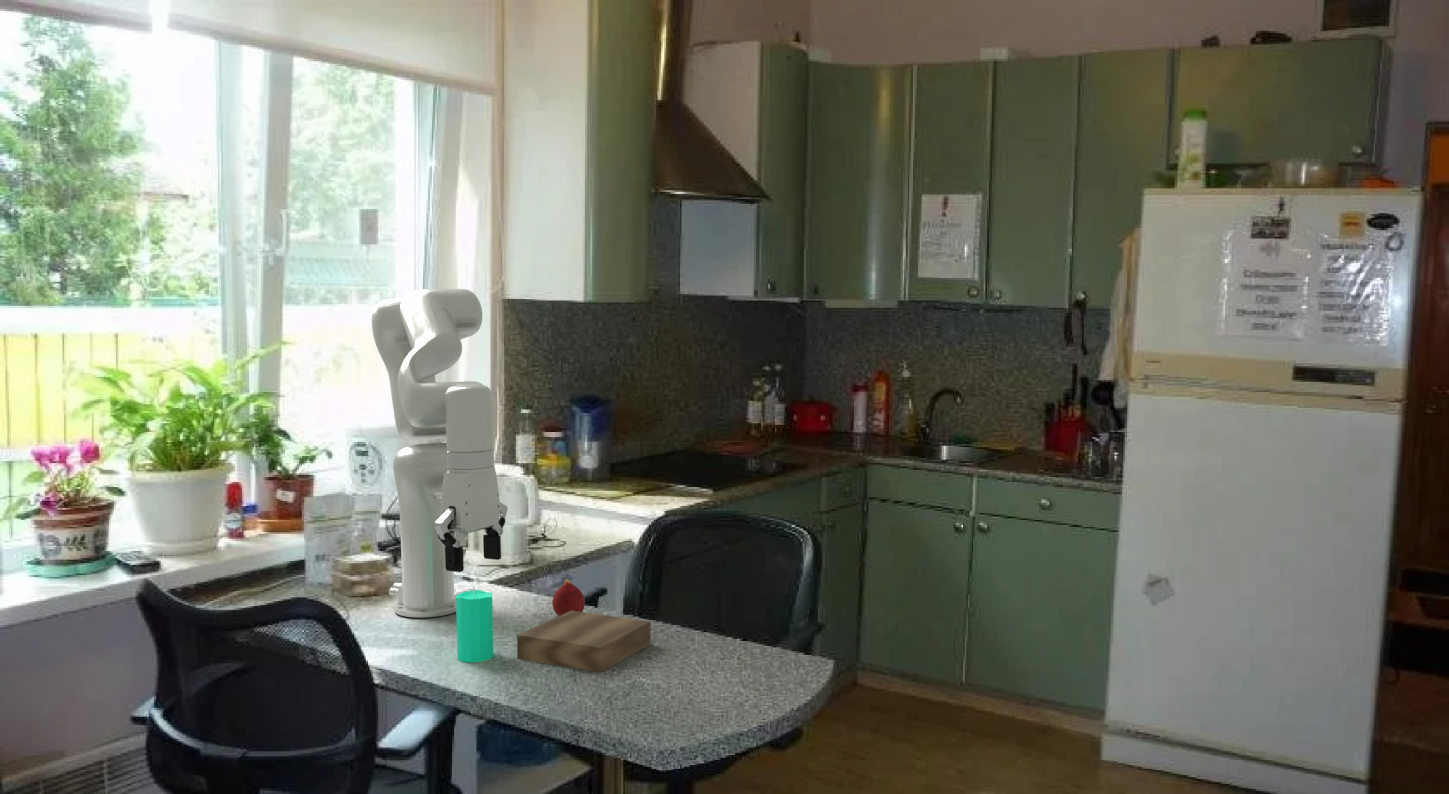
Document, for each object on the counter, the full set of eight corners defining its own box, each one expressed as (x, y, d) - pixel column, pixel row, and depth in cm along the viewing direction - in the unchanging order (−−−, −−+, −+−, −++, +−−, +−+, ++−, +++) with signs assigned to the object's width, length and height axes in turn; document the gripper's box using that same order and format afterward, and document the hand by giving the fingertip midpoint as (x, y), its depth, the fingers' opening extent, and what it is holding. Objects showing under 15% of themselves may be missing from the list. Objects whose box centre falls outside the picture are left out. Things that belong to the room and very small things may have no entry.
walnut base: (517, 658, 190) (516, 635, 190) (571, 632, 204) (571, 610, 204) (600, 672, 183) (599, 647, 183) (650, 644, 197) (650, 621, 197)
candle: (475, 664, 187) (474, 592, 186) (449, 658, 190) (447, 587, 189) (501, 654, 192) (500, 583, 191) (475, 648, 196) (473, 579, 194)
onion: (588, 618, 213) (587, 576, 212) (581, 627, 208) (580, 583, 207) (557, 618, 214) (556, 575, 213) (549, 627, 208) (548, 583, 207)
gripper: (485, 453, 198) (488, 552, 199) (416, 466, 182) (420, 574, 183) (521, 455, 194) (524, 556, 196) (454, 469, 179) (458, 578, 180)
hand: (474, 564), depth 190 cm, fingers open, 9 cm apart
